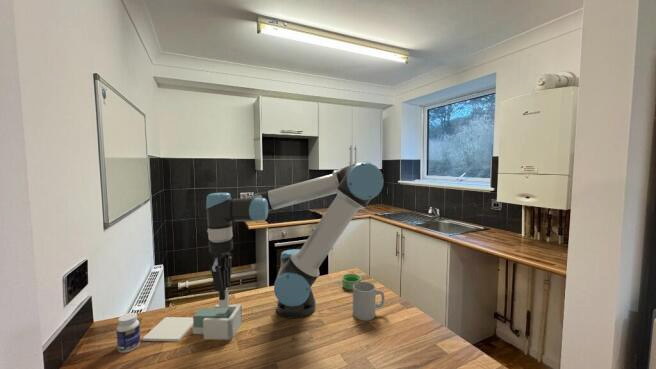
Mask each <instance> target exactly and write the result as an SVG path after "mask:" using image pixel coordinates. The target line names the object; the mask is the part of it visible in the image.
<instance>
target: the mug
mask: <svg viewBox="0 0 656 369" xmlns="http://www.w3.org/2000/svg"><path fill="white" fill-rule="evenodd" d="M384 294H385V293H384V291H383V290H381V289H377V288H376V286H375V284H373V283H371V282H367V281H361V282H357V283H355V284H354V285H353V290H352V315H353V317H354V318H355V319H357V320H360V321H365V322H366V321H371V320H373V319H374V318H375V317H376V309H378V308H379V309H380V308H382V307H384V304H385V295H384ZM377 295H380V296H381V301H380V302H376V296H377Z"/></svg>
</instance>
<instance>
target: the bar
mask: <svg viewBox="0 0 656 369" xmlns="http://www.w3.org/2000/svg"><path fill="white" fill-rule="evenodd" d="M192 318H193V324H194V325H193V326H194V327H202V328H203V320H204V318H229V308H215V307H200V308H199V309H198V310H197V311H196V312H195V313H194V315H193V316H192Z"/></svg>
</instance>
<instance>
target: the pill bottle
mask: <svg viewBox="0 0 656 369" xmlns="http://www.w3.org/2000/svg"><path fill="white" fill-rule="evenodd" d="M117 324H118V325H117V326H116V343H117V344H116V345H117V351H118V353H124V354H125V353H128V352H132V351H134V350H135V349H137V348H138V347H139V346H140V345H141V332H140V331H141V330H140V329H141V326H140V325H141V324H140V321H139V320H138V314H137V313H136V312H129V313H126V314H125V313H124V314H122V315H120V316H119V318H118V319H117Z"/></svg>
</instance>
